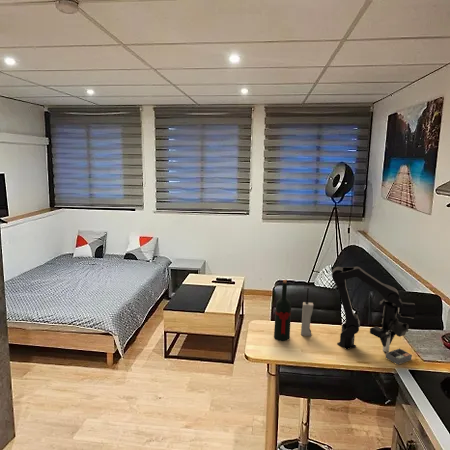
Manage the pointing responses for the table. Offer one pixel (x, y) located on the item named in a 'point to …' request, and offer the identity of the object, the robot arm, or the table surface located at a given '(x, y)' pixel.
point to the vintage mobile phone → (306, 317)
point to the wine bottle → (282, 316)
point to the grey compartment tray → (398, 356)
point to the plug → (387, 344)
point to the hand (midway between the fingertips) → (386, 345)
